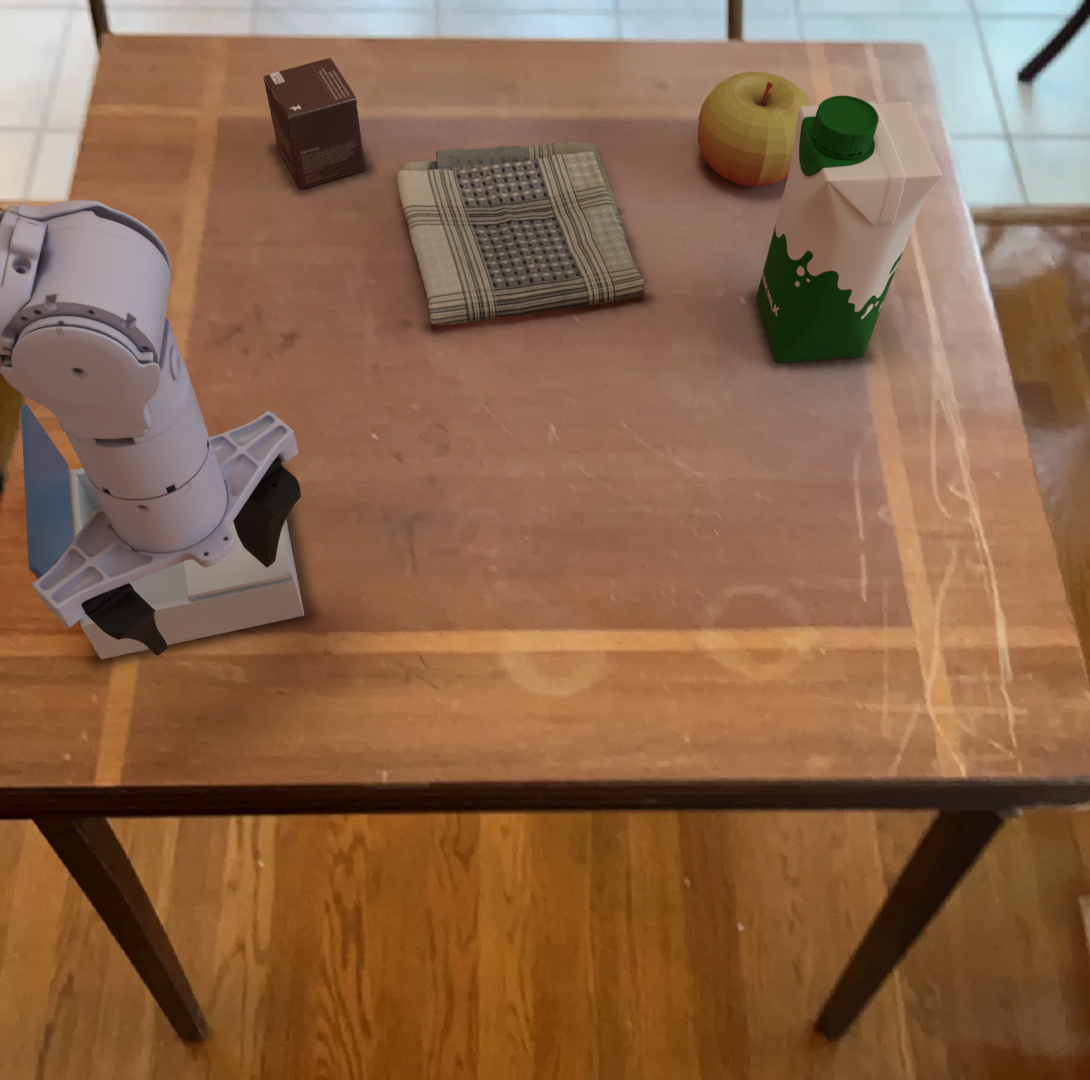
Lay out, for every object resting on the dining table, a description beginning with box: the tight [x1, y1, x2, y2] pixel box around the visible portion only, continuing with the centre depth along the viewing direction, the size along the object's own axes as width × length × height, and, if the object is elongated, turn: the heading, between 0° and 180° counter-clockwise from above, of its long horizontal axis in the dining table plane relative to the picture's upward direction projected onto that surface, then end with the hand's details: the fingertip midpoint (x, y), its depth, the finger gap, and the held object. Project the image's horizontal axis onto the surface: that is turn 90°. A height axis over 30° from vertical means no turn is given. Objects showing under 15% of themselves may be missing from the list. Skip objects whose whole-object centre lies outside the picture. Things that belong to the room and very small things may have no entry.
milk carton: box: [755, 95, 944, 364], centre depth 84 cm, size 9×9×20 cm
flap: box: [20, 404, 74, 580], centre depth 71 cm, size 6×12×1 cm
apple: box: [697, 71, 812, 187], centre depth 99 cm, size 10×10×8 cm
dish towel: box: [396, 140, 646, 326], centre depth 95 cm, size 19×18×3 cm
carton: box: [68, 435, 305, 660], centre depth 77 cm, size 13×12×5 cm
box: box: [262, 57, 366, 189], centre depth 98 cm, size 6×6×7 cm
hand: (206, 596), depth 65 cm, fingers open, 7 cm apart
